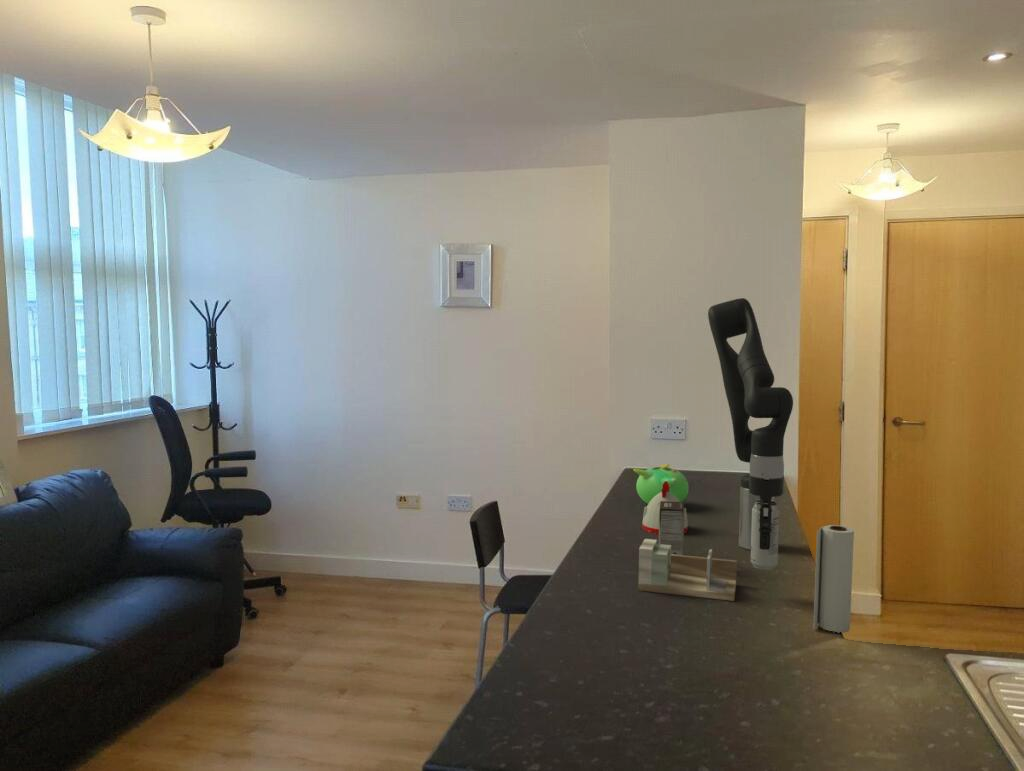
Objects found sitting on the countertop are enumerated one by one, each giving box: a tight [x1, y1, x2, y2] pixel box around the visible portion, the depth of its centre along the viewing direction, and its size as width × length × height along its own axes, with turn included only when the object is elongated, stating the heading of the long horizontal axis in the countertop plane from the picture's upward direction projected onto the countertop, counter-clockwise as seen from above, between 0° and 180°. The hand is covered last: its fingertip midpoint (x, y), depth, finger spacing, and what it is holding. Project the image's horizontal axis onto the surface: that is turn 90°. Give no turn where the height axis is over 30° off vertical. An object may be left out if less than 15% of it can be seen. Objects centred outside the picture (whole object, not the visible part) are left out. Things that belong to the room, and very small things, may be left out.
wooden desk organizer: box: [637, 538, 738, 602], centre depth 188 cm, size 12×22×10 cm, turn 72°
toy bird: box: [632, 463, 690, 505], centre depth 272 cm, size 18×17×15 cm
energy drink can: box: [750, 501, 780, 571], centre depth 181 cm, size 6×6×15 cm
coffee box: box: [658, 501, 685, 555], centre depth 206 cm, size 9×6×16 cm
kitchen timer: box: [641, 481, 689, 535], centre depth 242 cm, size 14×14×15 cm
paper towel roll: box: [812, 524, 855, 634], centre depth 163 cm, size 7×6×21 cm
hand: (764, 544), depth 181 cm, fingers closed on energy drink can, 6 cm apart
